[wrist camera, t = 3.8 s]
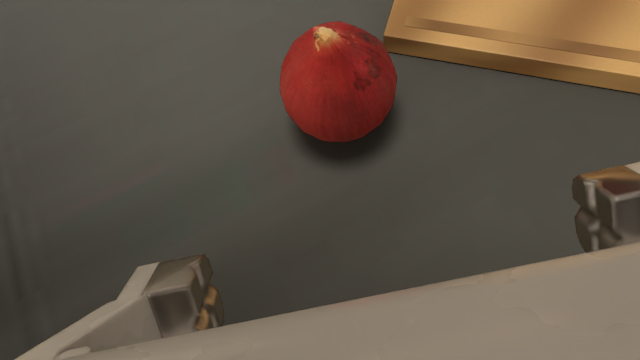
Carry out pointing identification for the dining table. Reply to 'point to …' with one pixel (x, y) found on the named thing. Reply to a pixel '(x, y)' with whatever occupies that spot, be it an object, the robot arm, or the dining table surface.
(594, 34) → the cutting board
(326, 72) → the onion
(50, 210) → the dining table surface
